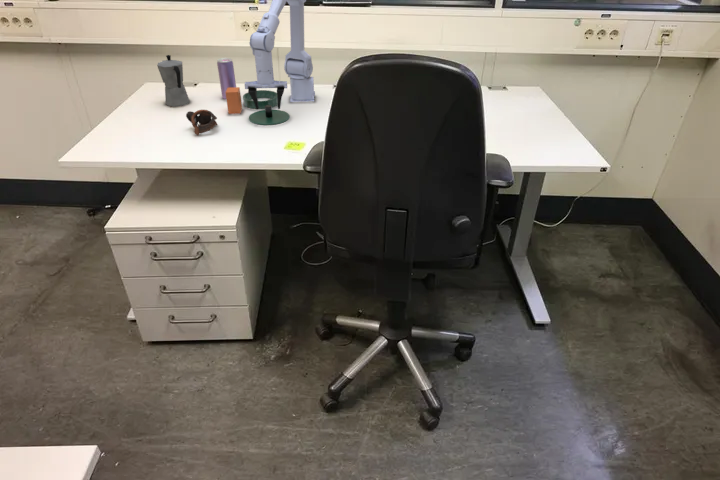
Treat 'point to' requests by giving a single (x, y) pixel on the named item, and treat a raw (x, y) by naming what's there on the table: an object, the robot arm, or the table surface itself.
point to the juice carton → (234, 100)
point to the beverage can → (226, 74)
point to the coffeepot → (173, 82)
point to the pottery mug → (202, 120)
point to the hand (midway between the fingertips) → (268, 108)
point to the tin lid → (269, 116)
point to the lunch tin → (261, 94)
